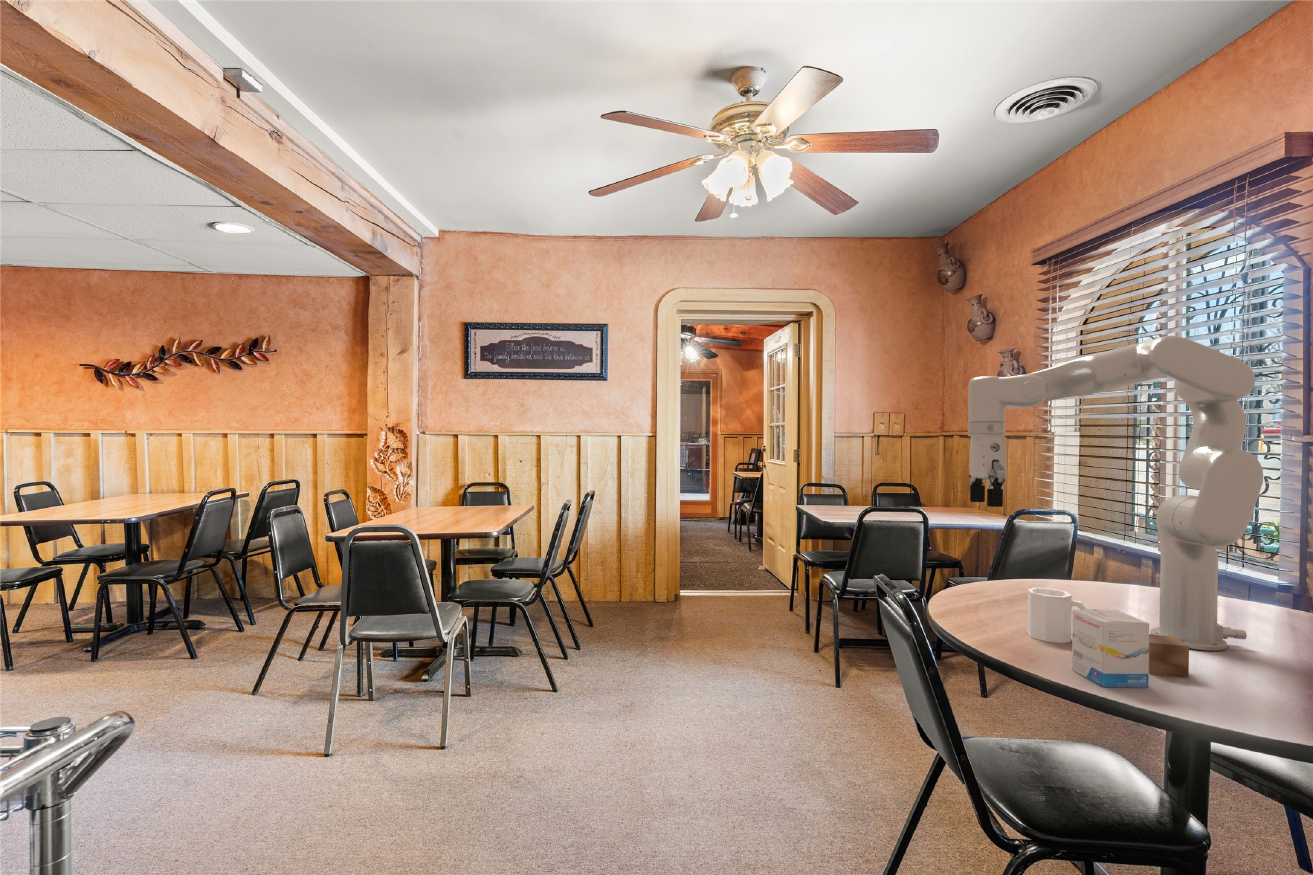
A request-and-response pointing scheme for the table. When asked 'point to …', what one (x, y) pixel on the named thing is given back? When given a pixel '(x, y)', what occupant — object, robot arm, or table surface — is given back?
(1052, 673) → the table surface
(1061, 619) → the mug
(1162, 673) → the walnut cube
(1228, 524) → the robot arm
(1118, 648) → the ink box
